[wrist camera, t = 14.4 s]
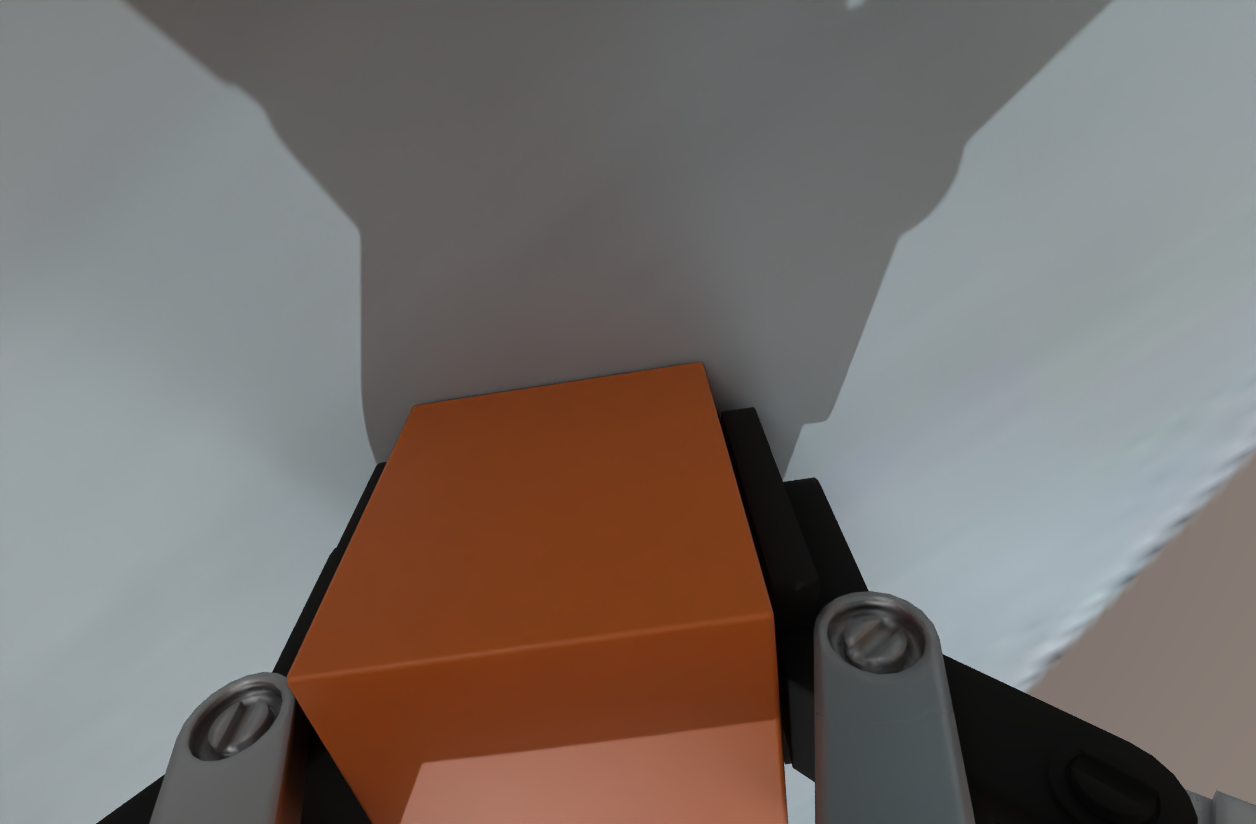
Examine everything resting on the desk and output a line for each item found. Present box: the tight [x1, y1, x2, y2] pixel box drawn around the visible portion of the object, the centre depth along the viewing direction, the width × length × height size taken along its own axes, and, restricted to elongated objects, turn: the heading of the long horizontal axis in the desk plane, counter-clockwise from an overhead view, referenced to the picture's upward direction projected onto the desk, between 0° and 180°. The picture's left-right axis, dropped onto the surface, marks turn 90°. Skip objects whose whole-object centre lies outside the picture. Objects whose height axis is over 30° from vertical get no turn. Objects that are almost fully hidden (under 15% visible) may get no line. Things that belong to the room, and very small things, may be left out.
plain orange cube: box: [287, 362, 788, 824], centre depth 10 cm, size 5×5×5 cm
